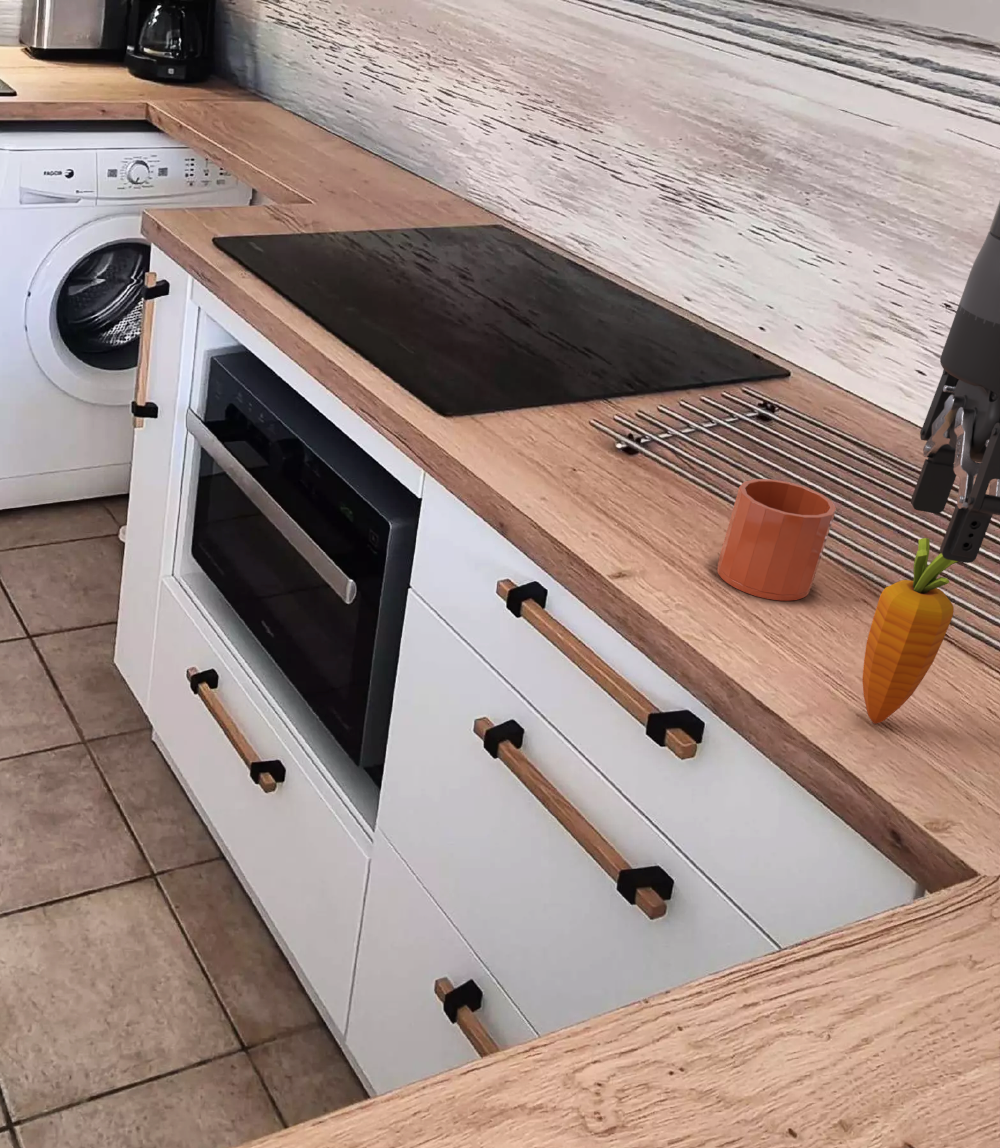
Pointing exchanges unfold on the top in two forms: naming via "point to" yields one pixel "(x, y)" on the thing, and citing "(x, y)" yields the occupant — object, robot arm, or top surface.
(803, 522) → the pot
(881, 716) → the carrot
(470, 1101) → the top surface
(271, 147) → the top surface
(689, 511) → the top surface
